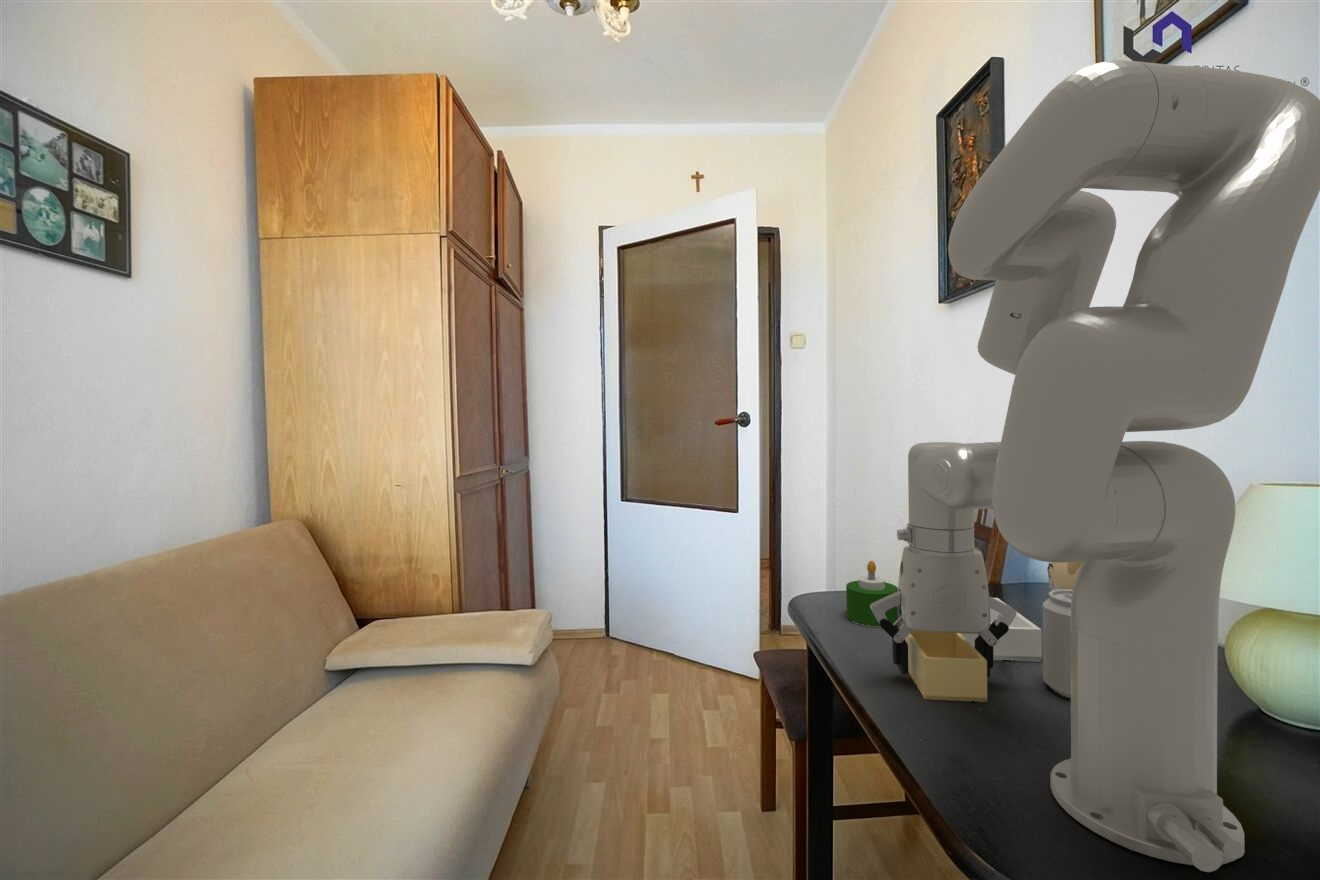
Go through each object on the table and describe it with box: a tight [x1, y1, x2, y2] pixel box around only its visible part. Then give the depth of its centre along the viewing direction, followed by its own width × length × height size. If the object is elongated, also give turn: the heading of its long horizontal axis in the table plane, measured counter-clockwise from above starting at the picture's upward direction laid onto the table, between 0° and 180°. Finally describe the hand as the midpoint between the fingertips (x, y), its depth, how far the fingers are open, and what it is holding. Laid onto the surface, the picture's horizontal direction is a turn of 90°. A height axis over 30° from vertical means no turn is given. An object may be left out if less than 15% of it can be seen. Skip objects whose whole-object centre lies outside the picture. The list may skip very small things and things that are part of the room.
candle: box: [845, 560, 899, 626], centre depth 98 cm, size 8×8×10 cm
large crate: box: [960, 597, 1043, 663], centre depth 88 cm, size 14×14×4 cm
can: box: [1042, 589, 1073, 699], centre depth 71 cm, size 8×8×12 cm
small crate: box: [905, 630, 988, 703], centre depth 74 cm, size 10×7×5 cm
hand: (941, 671), depth 74 cm, fingers open, 9 cm apart
